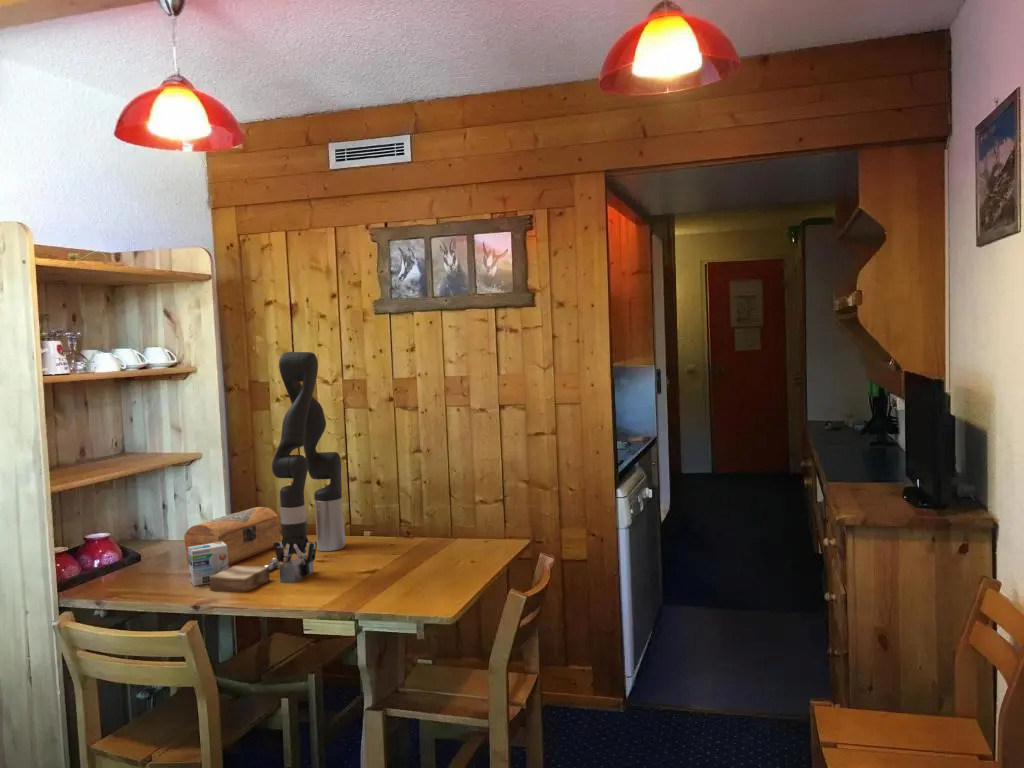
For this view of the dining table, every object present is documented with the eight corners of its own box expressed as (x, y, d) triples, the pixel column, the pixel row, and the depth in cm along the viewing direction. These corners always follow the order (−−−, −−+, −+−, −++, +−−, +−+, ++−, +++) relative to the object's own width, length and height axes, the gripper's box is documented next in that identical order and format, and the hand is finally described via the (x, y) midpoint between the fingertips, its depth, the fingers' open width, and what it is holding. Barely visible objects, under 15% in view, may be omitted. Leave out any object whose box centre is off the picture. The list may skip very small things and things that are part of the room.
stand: (235, 578, 249) (234, 565, 249) (269, 579, 246) (268, 566, 246) (210, 590, 238) (209, 577, 238) (245, 592, 234) (244, 578, 234)
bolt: (271, 567, 260) (271, 557, 260) (280, 567, 259) (279, 557, 259) (260, 572, 254) (259, 562, 254) (269, 573, 253) (268, 563, 253)
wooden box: (223, 568, 262) (220, 526, 261) (184, 565, 269) (181, 523, 268) (284, 545, 289) (282, 506, 288) (248, 542, 296) (245, 504, 295)
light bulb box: (193, 586, 243) (191, 551, 242) (189, 581, 248) (186, 546, 248) (230, 579, 248) (228, 544, 248) (225, 574, 254) (223, 540, 254)
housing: (299, 571, 253) (298, 556, 253) (313, 572, 252) (312, 556, 252) (280, 582, 243) (279, 565, 243) (295, 583, 242) (294, 566, 241)
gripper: (321, 518, 248) (324, 573, 249) (279, 517, 252) (283, 571, 253) (308, 523, 241) (311, 580, 242) (265, 522, 245) (269, 578, 246)
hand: (297, 575), depth 247 cm, fingers closed on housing, 5 cm apart
